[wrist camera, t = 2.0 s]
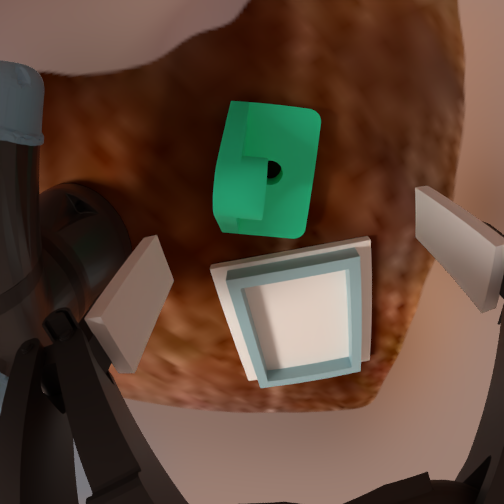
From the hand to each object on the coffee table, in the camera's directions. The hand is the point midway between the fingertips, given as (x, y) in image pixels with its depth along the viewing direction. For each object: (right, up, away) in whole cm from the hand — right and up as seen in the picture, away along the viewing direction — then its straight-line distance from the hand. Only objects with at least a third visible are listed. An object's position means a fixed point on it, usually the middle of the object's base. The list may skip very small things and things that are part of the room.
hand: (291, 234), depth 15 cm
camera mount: (0, +7, +14) cm, 16 cm away
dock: (+4, -9, +21) cm, 23 cm away
